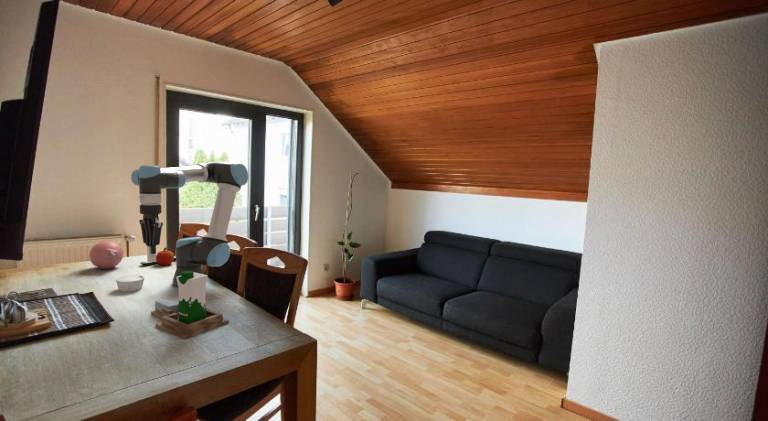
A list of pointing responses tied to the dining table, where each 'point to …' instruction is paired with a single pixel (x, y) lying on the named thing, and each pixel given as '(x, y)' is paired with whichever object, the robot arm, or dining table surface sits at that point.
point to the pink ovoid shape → (106, 254)
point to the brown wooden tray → (188, 330)
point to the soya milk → (192, 296)
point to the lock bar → (166, 305)
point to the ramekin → (130, 283)
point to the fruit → (164, 257)
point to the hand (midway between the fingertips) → (151, 261)
